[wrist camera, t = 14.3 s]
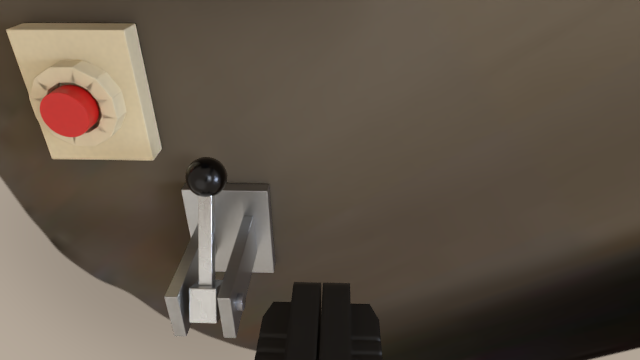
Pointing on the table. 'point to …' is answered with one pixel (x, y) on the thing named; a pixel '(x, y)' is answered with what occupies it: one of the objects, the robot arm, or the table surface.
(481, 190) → the table surface
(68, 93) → the button
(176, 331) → the base
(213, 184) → the lever handle
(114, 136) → the button block
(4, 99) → the table surface
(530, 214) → the table surface
